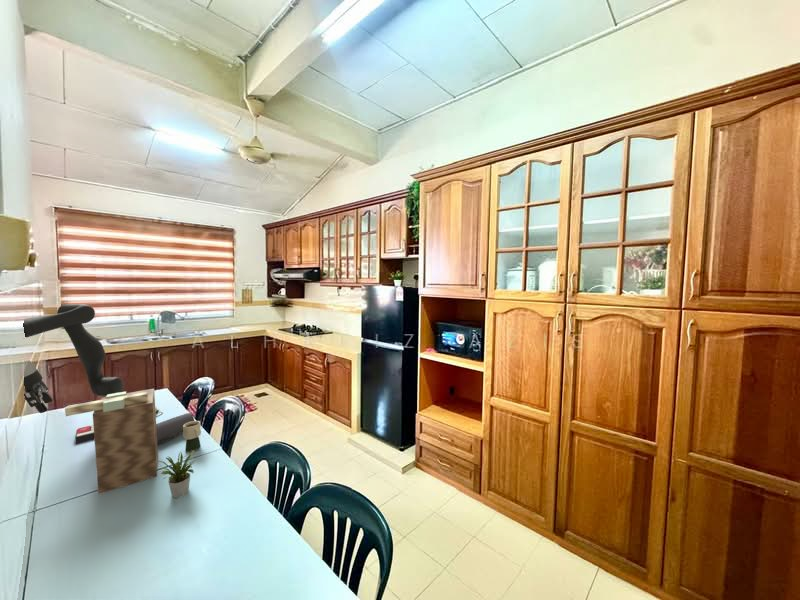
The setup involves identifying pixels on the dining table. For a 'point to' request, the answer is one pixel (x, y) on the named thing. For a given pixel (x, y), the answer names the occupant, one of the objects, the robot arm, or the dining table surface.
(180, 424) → the bluetooth speaker
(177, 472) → the house plant
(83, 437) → the red and black block
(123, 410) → the walnut stand
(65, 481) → the dining table surface
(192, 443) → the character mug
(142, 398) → the maple plank
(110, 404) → the pale green blocks
